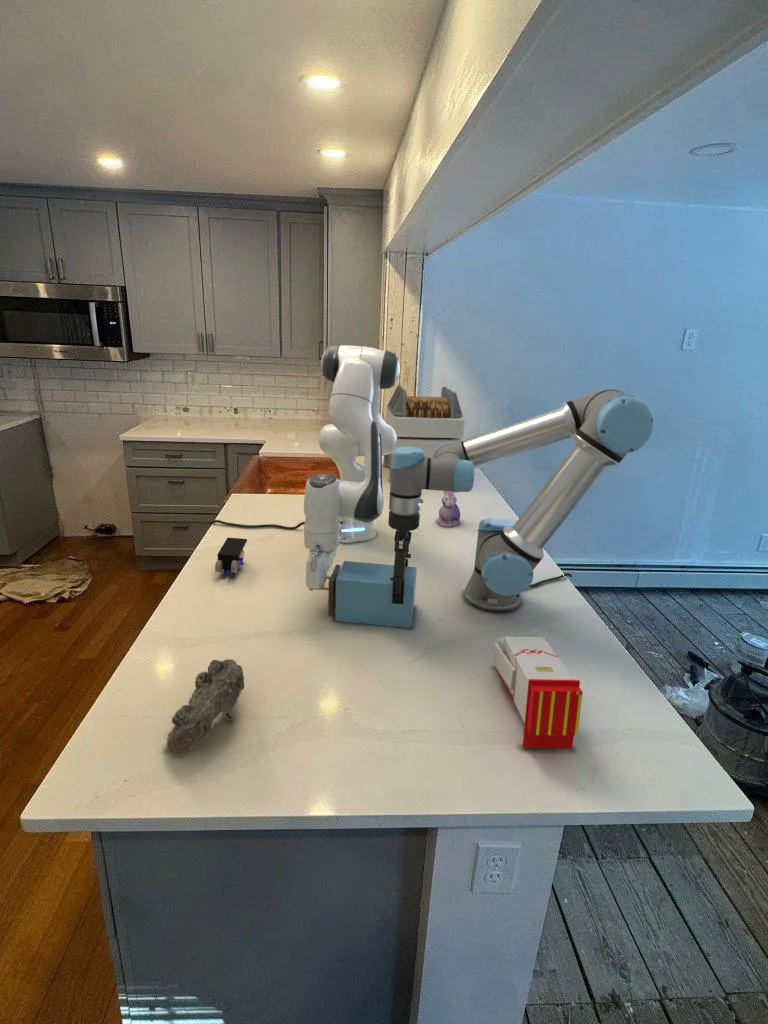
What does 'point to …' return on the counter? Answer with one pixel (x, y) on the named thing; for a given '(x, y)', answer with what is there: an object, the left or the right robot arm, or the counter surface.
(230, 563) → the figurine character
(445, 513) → the figurine
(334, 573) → the drawer
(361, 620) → the cabinet
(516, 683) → the toy
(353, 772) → the counter surface
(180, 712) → the fossil
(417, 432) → the transformer
